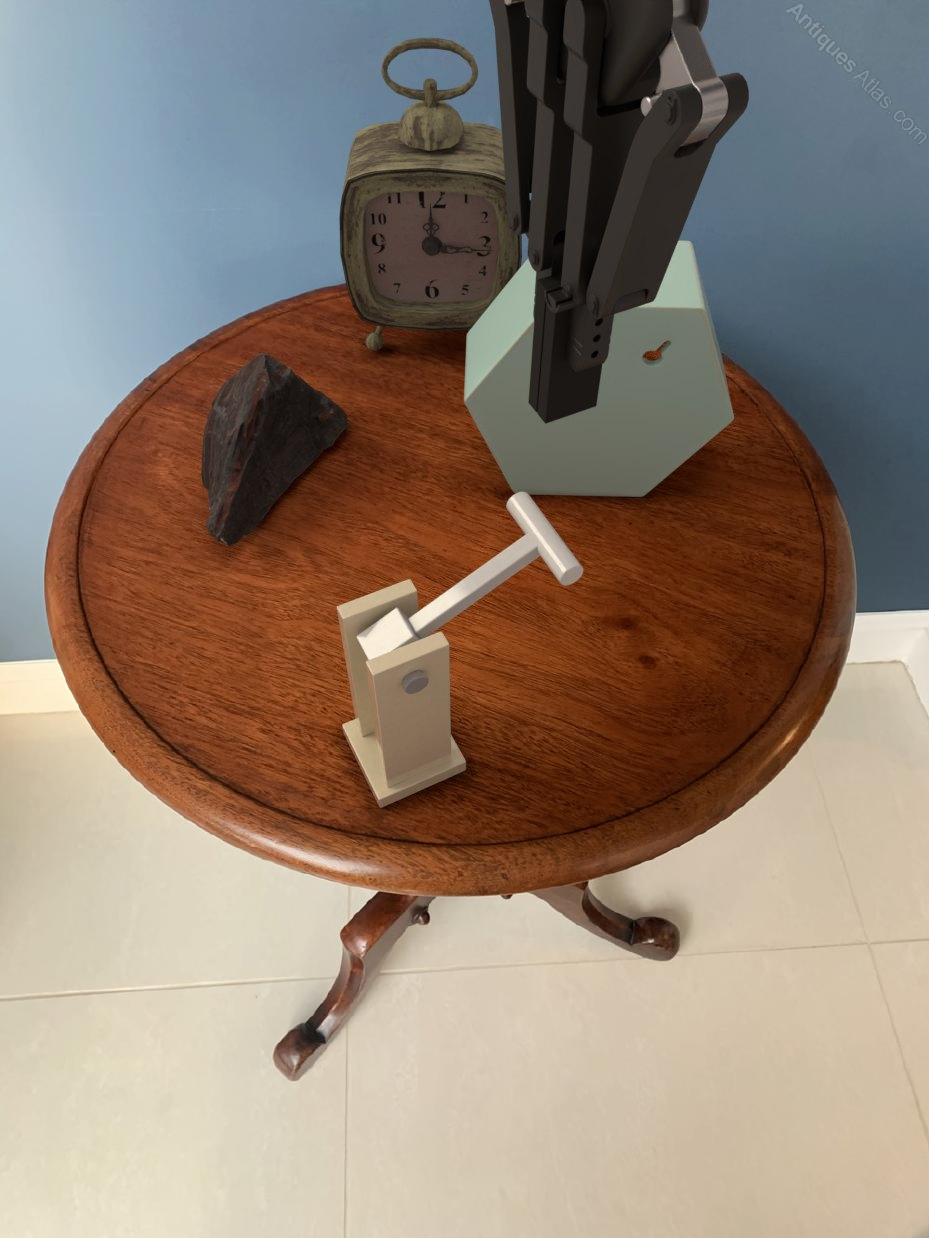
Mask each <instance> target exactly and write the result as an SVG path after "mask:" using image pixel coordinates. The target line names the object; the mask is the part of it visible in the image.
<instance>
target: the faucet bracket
mask: <svg viewBox="0 0 929 1238" xmlns="http://www.w3.org/2000/svg"><path fill="white" fill-rule="evenodd" d="M395 608H398V609H400V610H401V611H402V612H403V613H404V614H405V615H406V616H407V617H408V618H410V617H411V616H412V615H414V614H415V613H417V612H418V611H419V598H418V589H417V588H416V586H415V584H414V583H413V581H412V579H411V578H408V579H405V580H403V581H400V582H398V583H394V584H392V585H389V586H387V587H384V588H381V589H379V590H376V591H374V592H371V593H368V594H366V595H363V596H361V597H357V598H355V599H353V600H350V601H347V602H345V603H342V604H340V605H337V606H336V612H337V618H338V625H339V630H340V635H341V642H342V649H343V654H344V659H345V665H346V671H347V678H348V683H349V689H350V696H351V702H352V707H353V714H354V719H352V720H349V721H346V722H345V723H343V724H341V727H342V732H343V735H344V737H345V740H346V742H347V744H348V746H349V748H350V750H351V752H352V754H353V756H354V758H355V760H356V762H357V765H358V766H359V768H360V770H361V773H362V775H363V776H364V779H365V780H366V782H367V785H368V787H369V789H370V791H371V793H372V795H373V797H374V799H375V801H376V803H377V805H378V807H379V808H380V809H383V808H384V807H386V806H389V805H391V804H393V803H396V802H398V801H400V800H402V799H404V798H407V797H409V796H411V795H413V794H416V793H418V792H420V791H422V790H425V789H426V788H430V787H432V786H434V785H436V784H438V783H440V782H443V781H445V780H447V779H450V778H451V777H454V776H456V775H459V774H461V773H462V772H463V773H464V772H465V771H466V770H467V760H466V758H465V756H464V755H463V753H462V751H461V749H460V747H459V746H458V744H457V742H456V740H455V739H454V737H453V735H452V724H451V723H452V721H451V719H452V718H451V716H452V715H451V664H450V663H451V659H450V654H451V653H450V642H449V641H448V639H447V638H446V635H445V634H444V632H443V631H438V632H435V633H432V634H430V635H429V636H427V637H425V638H423V639H420V640H418V641H415V642H413V643H410V644H408V645H405V646H403V647H400V648H398V649H395V650H393V651H390V652H388V653H385V654H383V655H380V656H378V657H375V658H373V659H370V660H368V658H367V656H366V654H365V653H364V651H363V649H362V647H361V645H360V643H359V641H358V639H357V635H359V634H360V633H362V632H363V631H364V630H366V629H367V628H369V627H370V626H371V625H373V624H374V623H376V622H377V621H378V620H380V619H381V618H383V617H384V616H385V615H387V614H388V613H390V612H391V611H392V610H394V609H395Z"/></svg>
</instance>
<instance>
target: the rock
mask: <svg viewBox="0 0 929 1238" xmlns="http://www.w3.org/2000/svg"><path fill="white" fill-rule="evenodd" d="M350 425H351V424H350V423H349V418H348V415H347V413H346V411H345V410H344V409H343V408H342V407H340V406H339V405H338V404H337V403H336V402H334V401H333V400H332V399H331V398H329V397H328V396H327V395H325V394H324V393H323V392H322V391H320V390H317V389H315V388H314V387H313V386H311V385H310V384H309V383H308V382H306V381H305V380H304V379H303V378H302V377H301V376H300V375H299V374H296V373H295V372H294V371H293V369H292V367H290V366H289V365H287V364H284V363H283V362H281V361H280V360H277V359H276V358H275V357H273V356H271V355H270V354H268V353H264V352H260V353H258V354H256V355H255V356H254V358H251V361H250V362H248V363H246V364H244V365H243V366H242V367H241V368H240V369H239V370H238V371H237V372H236V373H235V374H234V375H232V376H229V377H228V379H227V380H226V381H224V383H223V384H222V385H221V387H220V388H219V389H218V391H217V392H216V394H215V396H214V398H213V400H212V402H211V410H210V411H209V412H208V414H207V415H206V423H205V426H204V429H203V437H202V446H201V450H202V451H201V452H202V453H201V471H200V476H201V482H202V486H203V488H204V489H206V490H207V491H208V494H207V499H208V510H209V517H208V518H207V520H206V521H205V527H206V530H207V531H208V534H209V535H210V536H212V537H213V538H214V540H215V542H217V543H218V542H220V543H223V544H224V545H225V546H226V547H231V546H234V545H236V544H238V543H239V542H240V541H241V540H242V539H243V538H244V537H247V536H249V535H250V534H252V533H253V531H254V530H255V528H256V527H257V526H258V524H260V523H261V522H262V521H263V520H264V518H265V516H266V515H267V514H268V512H270V510H271V508H272V507H273V505H274V503H276V502H277V501H278V499H279V498H280V497H281V496H282V495H283V494H284V493H285V492H286V491H287V490H288V489H289V487H290V485H291V484H292V483H293V482H294V481H295V479H298V478H299V476H301V475H302V474H303V473H304V472H305V471H306V470H307V469H308V468H309V467H310V466H311V465H312V464H313V463H314V462H315V461H317V459H319V457H320V455H321V454H322V452H323V451H324V450H326V449H328V448H331V447H332V446H333V445H334V444H335V441H336V440H337V439H339V437H340V435H341V434H342V433H343V432H344V431H345V430H346V429H348V428H349V427H350Z"/></svg>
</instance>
